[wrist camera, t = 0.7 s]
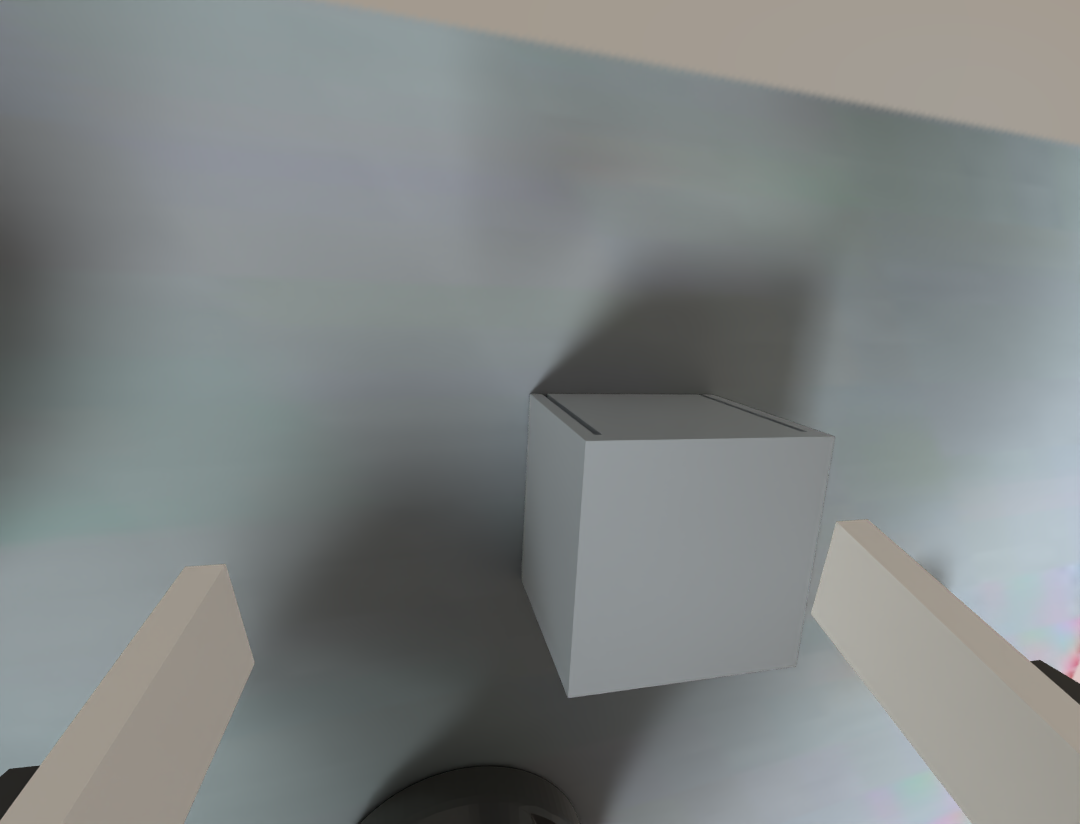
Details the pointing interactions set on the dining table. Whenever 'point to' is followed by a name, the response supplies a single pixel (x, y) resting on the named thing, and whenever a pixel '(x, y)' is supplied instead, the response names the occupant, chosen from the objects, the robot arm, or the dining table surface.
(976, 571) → the dining table surface
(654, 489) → the grey rectangular prism
